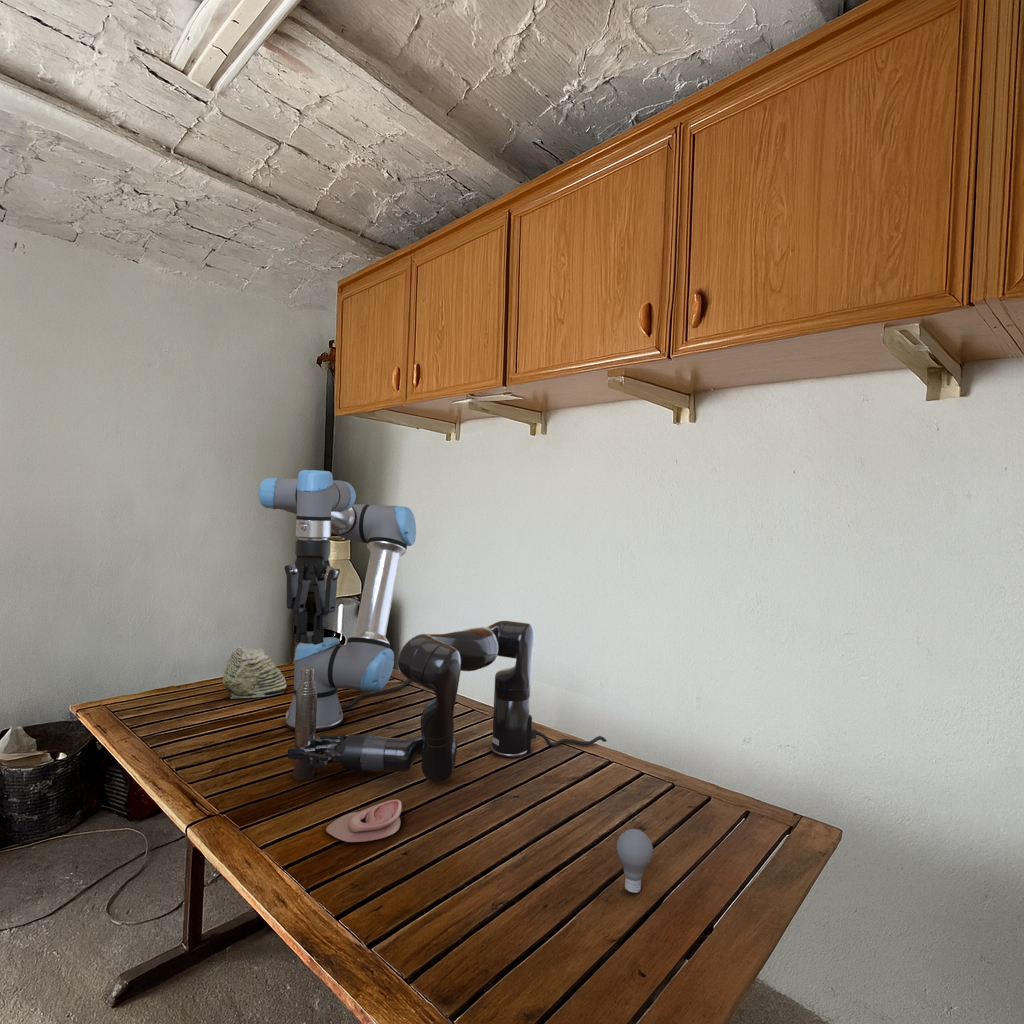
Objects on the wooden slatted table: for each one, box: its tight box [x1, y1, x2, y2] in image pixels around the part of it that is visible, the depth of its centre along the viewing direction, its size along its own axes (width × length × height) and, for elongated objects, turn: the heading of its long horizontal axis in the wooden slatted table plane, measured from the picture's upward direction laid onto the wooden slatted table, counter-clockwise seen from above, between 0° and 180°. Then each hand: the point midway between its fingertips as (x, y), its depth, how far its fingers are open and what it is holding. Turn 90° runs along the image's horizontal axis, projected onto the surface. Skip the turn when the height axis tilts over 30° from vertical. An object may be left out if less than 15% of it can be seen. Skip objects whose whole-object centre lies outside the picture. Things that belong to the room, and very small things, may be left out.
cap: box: [299, 631, 314, 644], centre depth 143 cm, size 4×4×2 cm
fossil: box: [222, 646, 288, 699], centre depth 198 cm, size 9×18×15 cm, turn 132°
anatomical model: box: [325, 799, 403, 843], centre depth 122 cm, size 13×4×12 cm
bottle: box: [292, 667, 317, 781], centre depth 143 cm, size 4×4×24 cm
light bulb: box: [615, 828, 654, 894], centre depth 106 cm, size 6×6×10 cm
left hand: (309, 641), depth 143 cm, fingers closed on cap, 4 cm apart
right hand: (293, 748), depth 143 cm, fingers closed on bottle, 4 cm apart
